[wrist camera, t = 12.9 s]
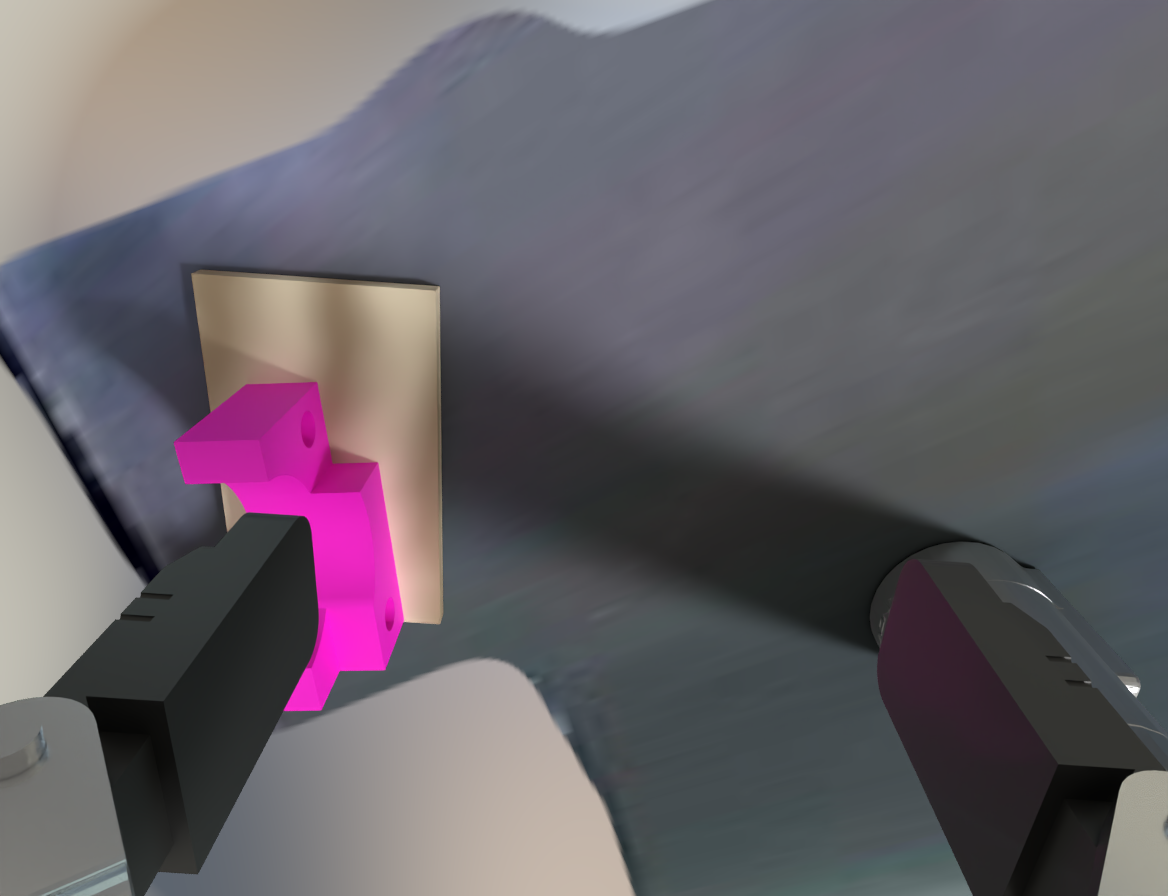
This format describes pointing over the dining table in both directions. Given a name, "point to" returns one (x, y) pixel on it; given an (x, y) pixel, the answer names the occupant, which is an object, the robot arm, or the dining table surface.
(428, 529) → the oak board
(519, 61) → the dining table surface
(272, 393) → the magenta cradle block
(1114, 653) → the robot arm
